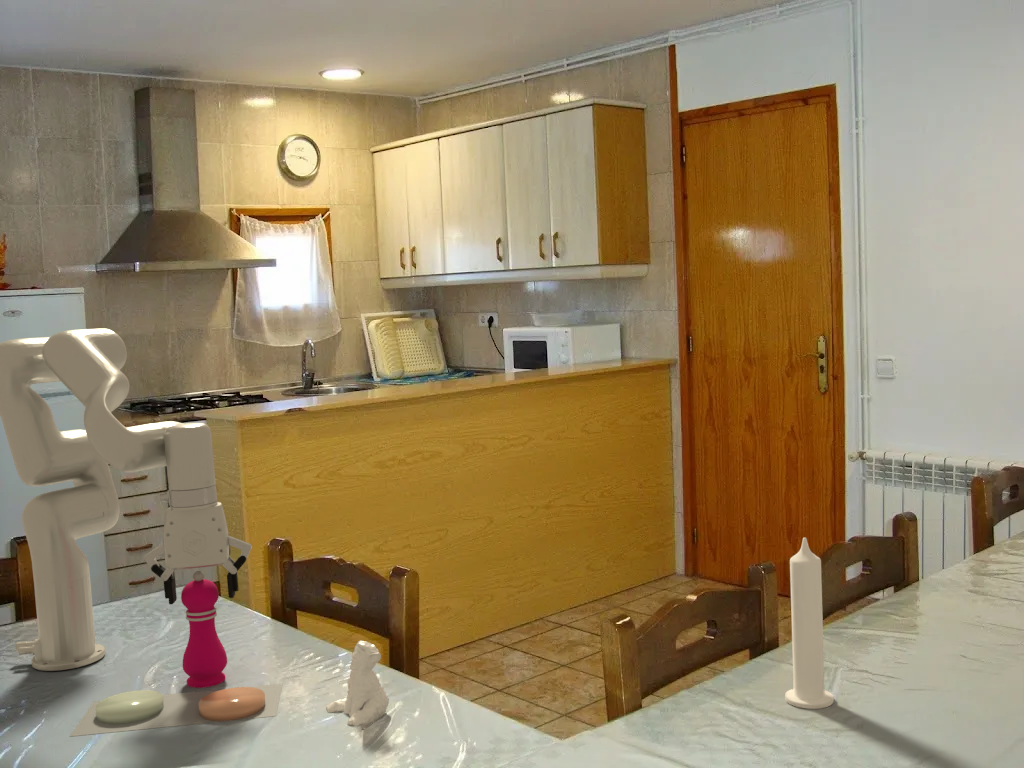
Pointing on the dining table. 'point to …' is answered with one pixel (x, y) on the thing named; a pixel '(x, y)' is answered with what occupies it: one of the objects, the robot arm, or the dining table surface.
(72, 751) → the dining table surface
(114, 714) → the pale green domed disc
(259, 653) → the dining table surface
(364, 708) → the sitting furry creature
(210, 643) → the pepper mill
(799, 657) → the candle
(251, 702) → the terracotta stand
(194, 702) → the board
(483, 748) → the dining table surface
